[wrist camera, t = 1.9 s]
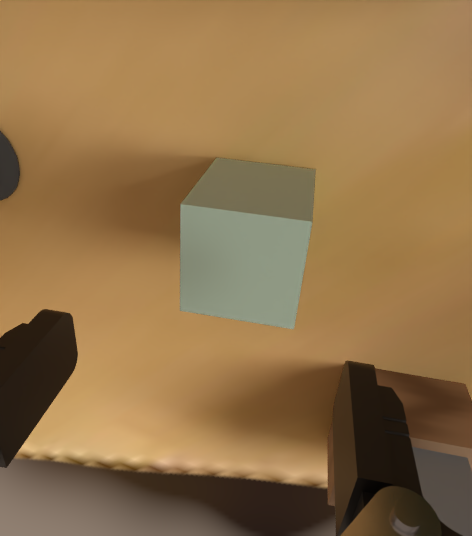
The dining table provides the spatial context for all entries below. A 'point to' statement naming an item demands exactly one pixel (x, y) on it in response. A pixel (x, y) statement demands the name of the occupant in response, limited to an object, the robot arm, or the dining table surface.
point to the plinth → (425, 416)
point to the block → (246, 241)
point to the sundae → (8, 168)
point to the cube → (447, 487)
